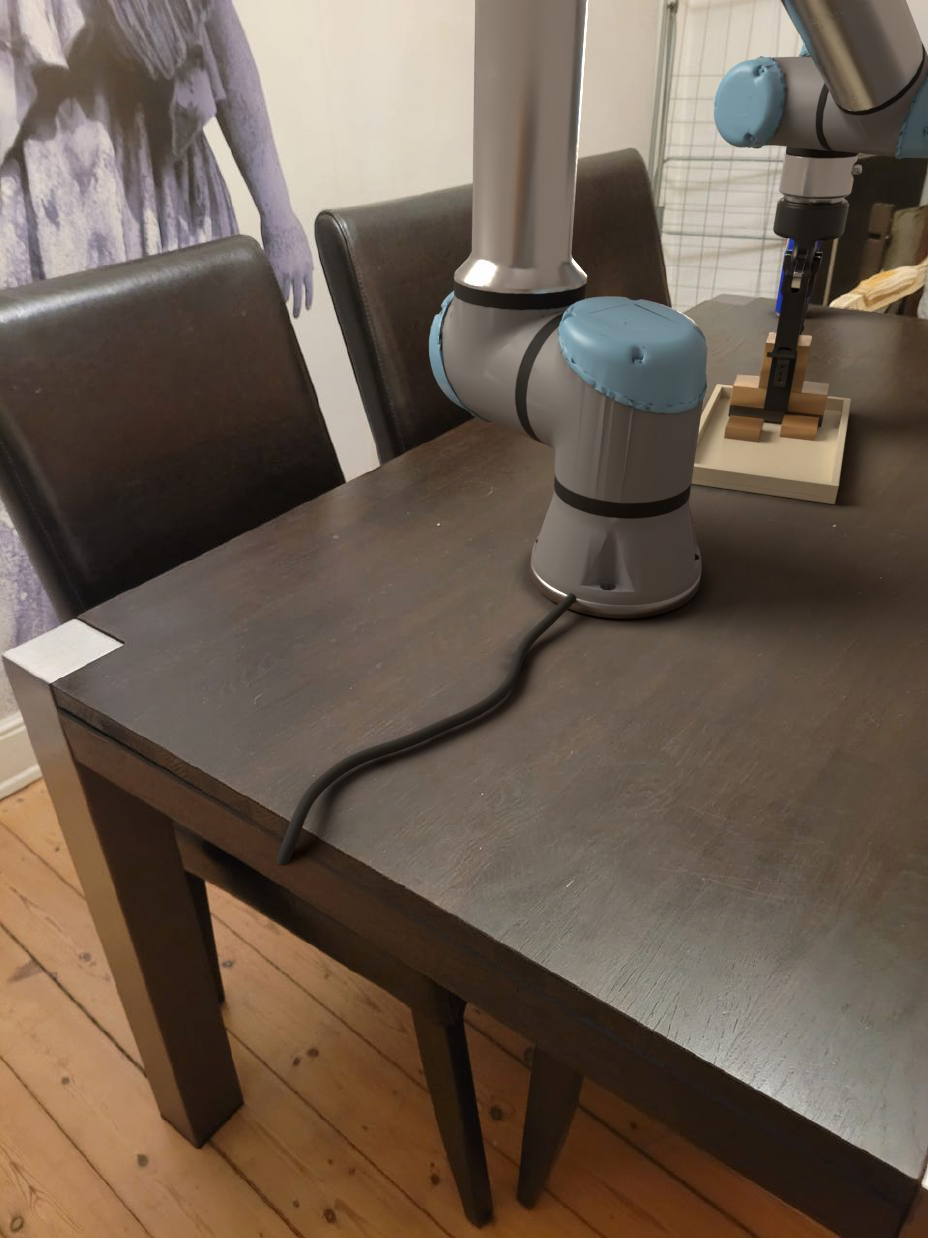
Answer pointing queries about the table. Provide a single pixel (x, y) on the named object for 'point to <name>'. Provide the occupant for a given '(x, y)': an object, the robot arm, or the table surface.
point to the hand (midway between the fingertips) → (777, 402)
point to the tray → (771, 454)
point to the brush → (802, 396)
